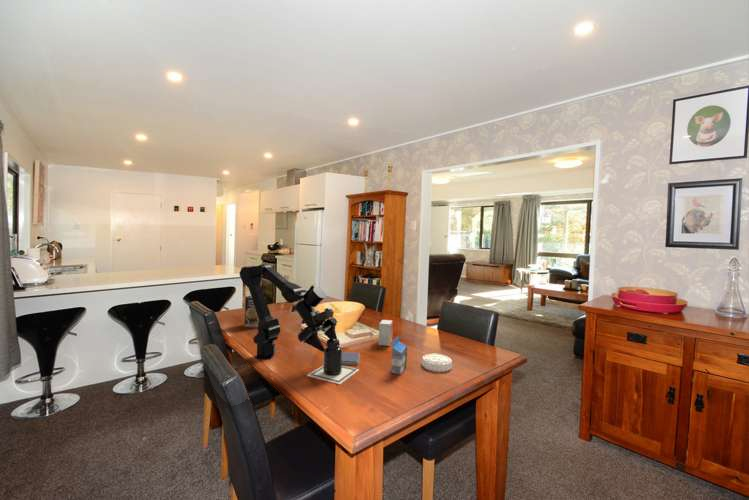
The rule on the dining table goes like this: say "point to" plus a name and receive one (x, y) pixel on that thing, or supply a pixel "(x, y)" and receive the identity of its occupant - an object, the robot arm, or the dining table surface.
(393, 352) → the label tape cartridge
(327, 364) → the supplement bottle
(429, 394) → the dining table surface
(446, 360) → the mooncake
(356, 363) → the pad
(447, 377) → the dining table surface
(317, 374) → the marked card
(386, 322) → the small box
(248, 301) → the coffee box
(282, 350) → the dining table surface
